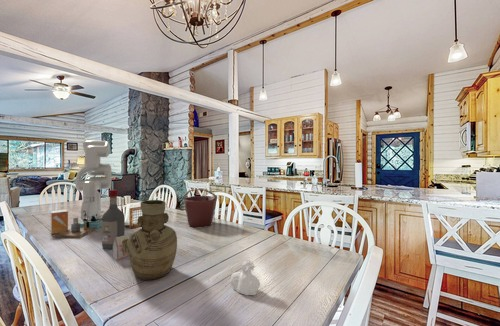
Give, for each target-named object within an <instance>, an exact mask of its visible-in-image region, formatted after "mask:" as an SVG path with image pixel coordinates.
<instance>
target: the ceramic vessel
mask: <svg viewBox="0 0 500 326" xmlns="http://www.w3.org/2000/svg"><path fill="white" fill-rule="evenodd" d="M139 205H140V210H141V215H140V216H138V218H137V220H136V222H137V226H138V227H141V228H140V229H138V230H136V231H134V232H133V233H132V234H130V237H129V239H126V240H123V241H122V244H123V246H122V252H123V253H125V252H127V256H128V257H127V258H128V260H129V262H130V267H131V268H130V269H131V270H132V272H133V274H134V276H136V277H137V278H138V279H140V280H142V281H153V280H158V279H161V278H162V277H165V276H166V275H168V273H169V272H170V270H171V269H172V267H173V265H174V262H175V259H176V254H177V248H178V237H177V233H176V230H175V229H173V228H172V227H171V226H169V225H166V224H168V222H169V214H168V213H167V212H165V210H166V201H164V200H161V199H147V200H142V201H141V202H140V204H139Z"/></svg>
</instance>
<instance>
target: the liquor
mask: <svg viewBox="0 0 500 326" xmlns="http://www.w3.org/2000/svg"><path fill="white" fill-rule="evenodd" d="M108 193H109V206H108V209H107V210H106V211H104V213H102V214H103V216H102V218H101V221H102V227H101V244H102V245H101V247H102V249H104V250H113V244H114V240H115V238H117V237H121V236H124V235H125V214H124V212H123V211H122V210H121V209H120V208H119V207H118V189H110V190H109V191H108Z"/></svg>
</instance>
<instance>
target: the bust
mask: <svg viewBox="0 0 500 326" xmlns="http://www.w3.org/2000/svg"><path fill="white" fill-rule="evenodd" d="M239 263H240V266H241V267H240V269H241V271H236V272H233V273H231V277H230V286H231V288H232V289H234V290H235V292H237V293H240V294H241V295H244V296H255V295H257V294H258V291H259V288H260V286H261V283H260V280H259V278H258V277H257V276H256V275H254V274H252V271H254V269H255V267H256V266H255V265H254V262H253V261H252V260H250V259H249V260H245V261H240V262H239Z"/></svg>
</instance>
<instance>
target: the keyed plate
mask: <svg viewBox="0 0 500 326" xmlns="http://www.w3.org/2000/svg"><path fill="white" fill-rule="evenodd" d="M79 223H80V228H84V222H83V221H81V222H79ZM89 228H95V229H100V228H102V220H99V221H97V220H96V221H91V220H89Z"/></svg>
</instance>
